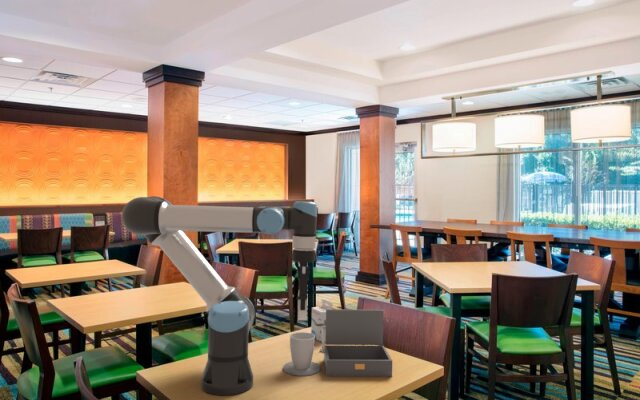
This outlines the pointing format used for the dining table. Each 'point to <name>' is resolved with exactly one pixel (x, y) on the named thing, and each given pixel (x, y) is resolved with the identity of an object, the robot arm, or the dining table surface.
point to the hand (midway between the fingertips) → (302, 314)
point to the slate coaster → (291, 370)
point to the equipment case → (355, 331)
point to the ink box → (319, 319)
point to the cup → (302, 349)
